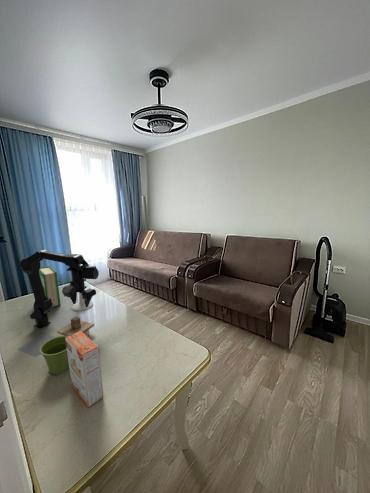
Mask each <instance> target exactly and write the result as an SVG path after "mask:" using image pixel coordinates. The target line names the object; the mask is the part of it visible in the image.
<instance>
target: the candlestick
mask: <svg viewBox="0 0 370 493" xmlns="http://www.w3.org/2000/svg"><path fill="white" fill-rule="evenodd" d="M79 266H82V264H81V265H79ZM93 307H94V302H93V301H92V300H91V301H90V303H89V305H88V307H87V308H86V306H85V301H84V299H83V298H82V293H79V292H78V302H76V304H73V305H72V307H71V310H72V311H74V312H84V311H87V310H90V309H92V308H93Z"/></svg>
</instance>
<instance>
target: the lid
mask: <svg viewBox="0 0 370 493" xmlns="http://www.w3.org/2000/svg"><path fill="white" fill-rule="evenodd" d="M93 327H95V323H92V322H88V321H86V320H83V319H81V317H79V316H74V317H72V318H71V319H70V323H68V324H67V325H65V326H63V327H62V328H60V329H58V330H57V332H56V333H57V334H59V335H61V336H64V335H65V336H70V335H72V334H74V333H77V332H79V331H82V332H83V333H84V332H86V331H87V330H89V331H90V329H92V328H93Z"/></svg>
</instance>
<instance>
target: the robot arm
mask: <svg viewBox="0 0 370 493" xmlns="http://www.w3.org/2000/svg"><path fill="white" fill-rule="evenodd" d="M43 260H46V261H47V260H48V261H53V262H58V263H62V264H64V265H66V267H68V268H67V269H66V272H70V274H71V280H70V281H69V284H68V285H65V286H63V288H62V289H61V293H62V295H63V297H66V298H70V300H71V303H72V304H73V305H74V304H76V303H77V298H78V296H77V295H78V294H79V293H82V298H83V299H84V301H85V306H86V308H87V307H88V305H89V303H90V301H91V302H92V299H93V297H94V296H95V295H97V290H96V289H94V288H88V289H87V286H86V285H85V283H86V281H87V280H97V279H98V278H99V274H100V271H99V269H98V268H97V266H96V265H95V266H94V265H92V266H91V265H90V264H89V263H88V262H87V261H86V260H85V259H84V257H83V255H82V254H80V253H78V254H77V253H71V254H66V253H60V252H56V251H51V250H47V249H41V250H38V251H36V252H35V253H33V254H31V255H30V256H28V257H26V258H23V259H21V261H20V262H19V265H20V268H21V269H22V272H24V273H25V274H26V275H27V277H28V280H29V283H30V286H31V291H32V294H33V298H34V303H33V311H32V312H31V313H30V315H29V317H30V319H31V320H34V322H35V323H34V324H33V327H34V328H37V329H42V328H44V327H47V326H48V325H50V324H51V323H52V322H51V321H49V316H48V313H50V312H51V310H52V308H53V307H52V305H53V303H52V300H51V298H49V299H48V298H47V297H46V296H45V292H44V288H43V285H42V281H41V278H40V274H39V270H40V267H41V261H43ZM79 265H81V266H79Z"/></svg>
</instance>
